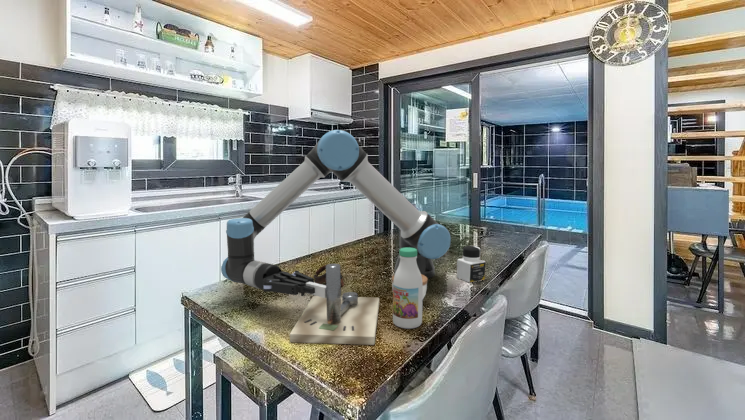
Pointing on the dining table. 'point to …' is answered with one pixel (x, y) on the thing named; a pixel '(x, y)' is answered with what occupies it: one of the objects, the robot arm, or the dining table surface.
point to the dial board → (338, 323)
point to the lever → (337, 294)
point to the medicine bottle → (471, 265)
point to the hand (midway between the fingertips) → (326, 292)
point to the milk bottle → (407, 291)
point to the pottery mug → (324, 276)
